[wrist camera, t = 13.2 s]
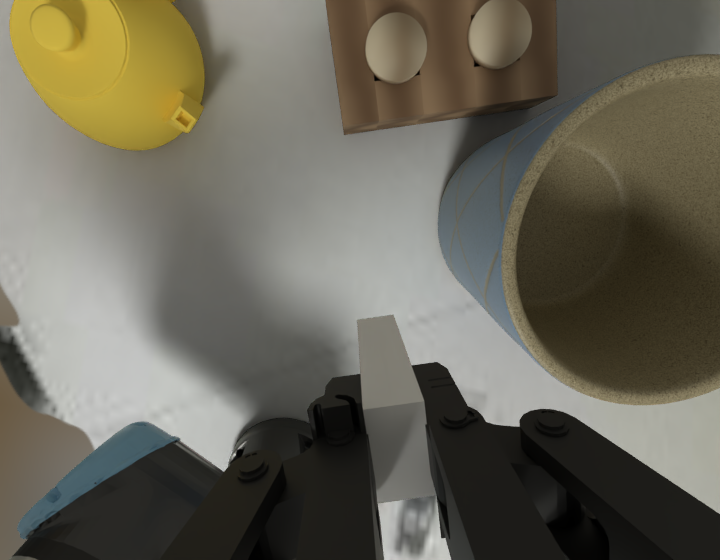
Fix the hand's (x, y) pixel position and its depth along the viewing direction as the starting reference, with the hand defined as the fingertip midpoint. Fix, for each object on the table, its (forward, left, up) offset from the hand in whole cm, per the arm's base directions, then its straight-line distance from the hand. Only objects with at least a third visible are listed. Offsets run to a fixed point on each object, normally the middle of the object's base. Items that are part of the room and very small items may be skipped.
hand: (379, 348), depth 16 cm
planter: (+20, 0, -33) cm, 38 cm away
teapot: (-20, +22, -33) cm, 44 cm away
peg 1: (+6, +19, -32) cm, 38 cm away
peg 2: (+16, +19, -32) cm, 41 cm away
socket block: (+11, +19, -32) cm, 39 cm away
